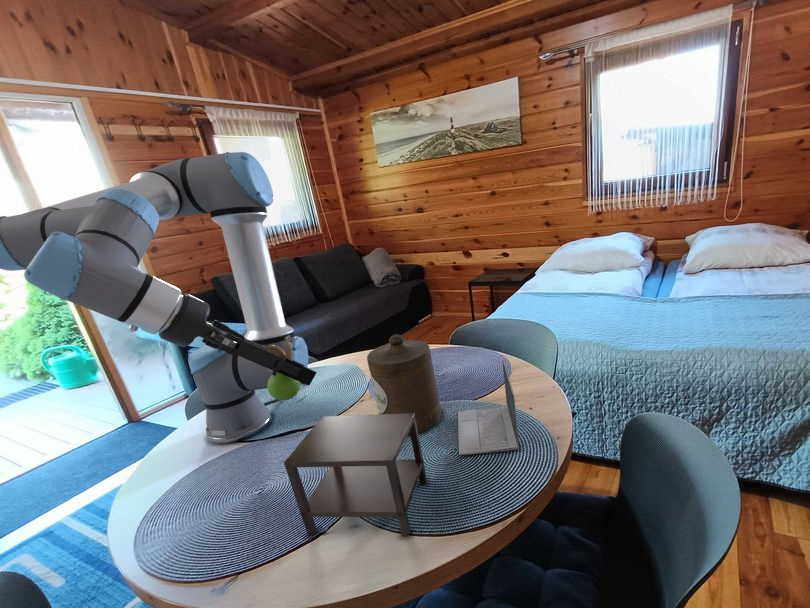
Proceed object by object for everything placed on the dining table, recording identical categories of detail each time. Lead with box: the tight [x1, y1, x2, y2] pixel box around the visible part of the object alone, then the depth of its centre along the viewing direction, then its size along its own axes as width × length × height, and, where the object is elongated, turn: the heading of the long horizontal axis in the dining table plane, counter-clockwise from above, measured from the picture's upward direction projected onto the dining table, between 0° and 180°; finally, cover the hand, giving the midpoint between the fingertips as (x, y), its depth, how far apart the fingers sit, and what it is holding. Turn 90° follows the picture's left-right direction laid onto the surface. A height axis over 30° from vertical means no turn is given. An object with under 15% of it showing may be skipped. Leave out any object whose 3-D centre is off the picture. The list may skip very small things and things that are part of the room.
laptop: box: [457, 359, 520, 456], centre depth 95 cm, size 18×12×13 cm
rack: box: [283, 413, 428, 537], centre depth 76 cm, size 14×18×15 cm
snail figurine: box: [264, 335, 301, 401], centre depth 76 cm, size 5×6×12 cm
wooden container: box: [366, 333, 442, 436], centre depth 102 cm, size 15×15×22 cm
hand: (305, 374), depth 79 cm, fingers closed on snail figurine, 5 cm apart
